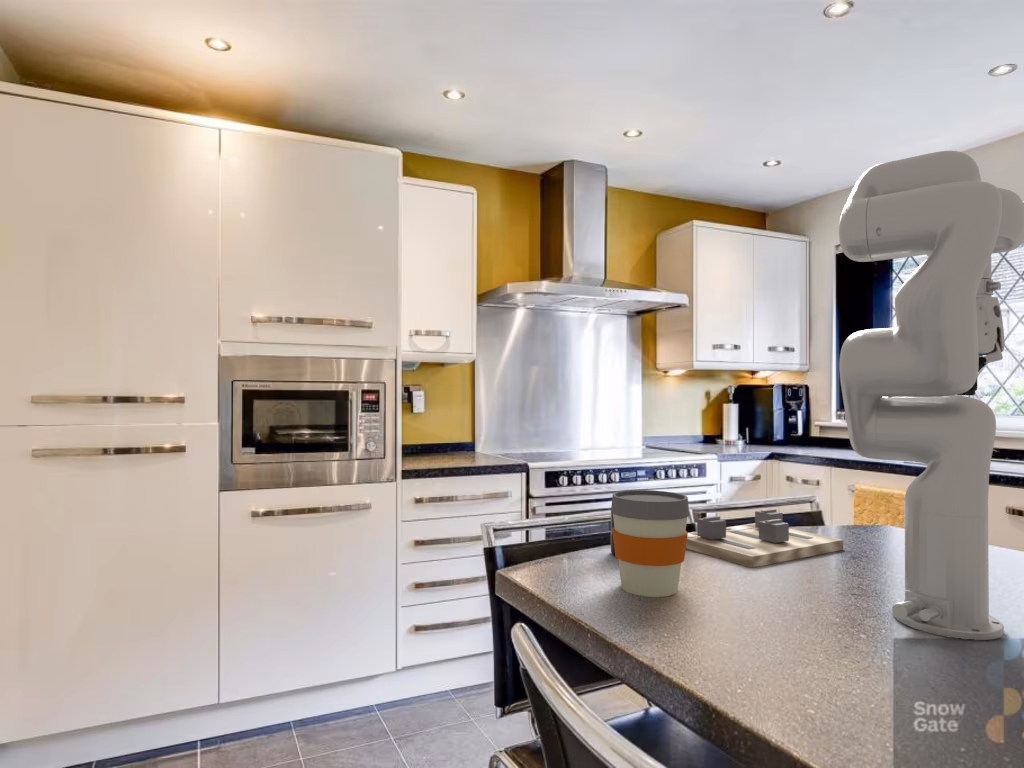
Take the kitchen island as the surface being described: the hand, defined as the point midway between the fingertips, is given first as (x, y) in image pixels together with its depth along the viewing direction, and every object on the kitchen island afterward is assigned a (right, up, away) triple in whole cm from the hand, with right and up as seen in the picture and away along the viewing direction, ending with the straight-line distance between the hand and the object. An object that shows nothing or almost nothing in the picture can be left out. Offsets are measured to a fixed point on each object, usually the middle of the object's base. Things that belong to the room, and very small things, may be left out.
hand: (965, 395), depth 110 cm
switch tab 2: (-24, -30, +27) cm, 47 cm away
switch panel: (-30, -32, +19) cm, 48 cm away
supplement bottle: (-58, -32, +12) cm, 67 cm away
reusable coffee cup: (-58, -32, -9) cm, 67 cm away
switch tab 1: (-40, -30, +18) cm, 52 cm away
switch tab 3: (-28, -30, +15) cm, 43 cm away
